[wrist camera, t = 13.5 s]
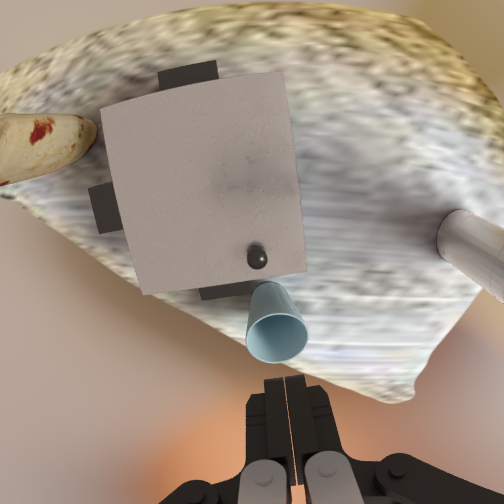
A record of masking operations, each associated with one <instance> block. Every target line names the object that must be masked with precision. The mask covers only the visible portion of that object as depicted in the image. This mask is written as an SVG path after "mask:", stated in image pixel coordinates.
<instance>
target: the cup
mask: <svg viewBox="0 0 504 504" xmlns="http://www.w3.org/2000/svg"><path fill="white" fill-rule="evenodd" d="M308 340H309V331H308V328H307V326H306V324H305V322H304V320H303V319H302V317H301V315H300V314H299V312H298V310H297V309H296V307H295V305H294V303H293V302H292V300H291V298H290V296H289V295H288V293H287V291H286V290H285V288H284V287H283V286H281V285H280V284H278V283H273V282H268V283H264V284H261V285H259V286H258V287H257V288H256V289H255V290H254V291H253V294H252V296H251V302H250V310H249V317H248V325H247V332H246V346H247V348H248V350H249V352H250V353H251V354H252V355H253V356H254V357H255V358H257V359H258V360H260V361H263V362H267V363H282V362H286V361H289V360H291V359H293V358H295V357H297V356H298V355H299V354H300V353H301V352H302V351H303V350H304V349H305V347H306V345H307V343H308Z"/></svg>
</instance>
